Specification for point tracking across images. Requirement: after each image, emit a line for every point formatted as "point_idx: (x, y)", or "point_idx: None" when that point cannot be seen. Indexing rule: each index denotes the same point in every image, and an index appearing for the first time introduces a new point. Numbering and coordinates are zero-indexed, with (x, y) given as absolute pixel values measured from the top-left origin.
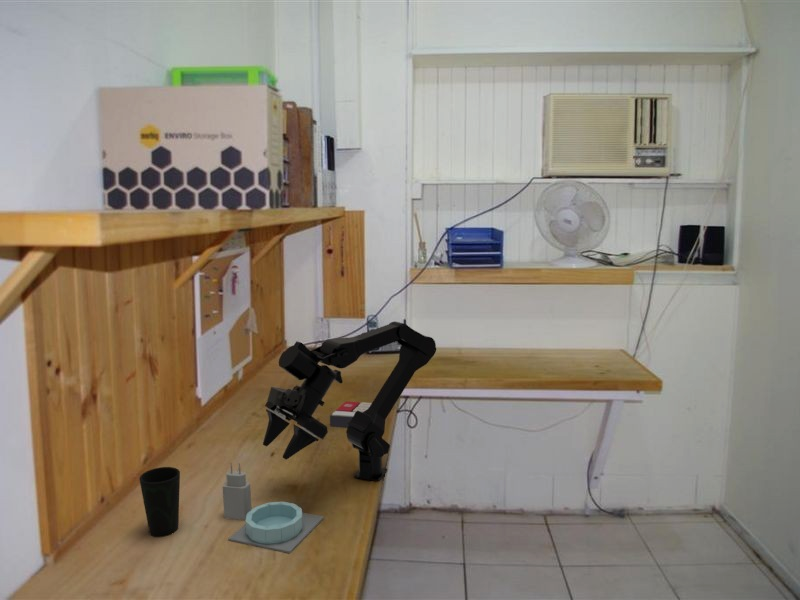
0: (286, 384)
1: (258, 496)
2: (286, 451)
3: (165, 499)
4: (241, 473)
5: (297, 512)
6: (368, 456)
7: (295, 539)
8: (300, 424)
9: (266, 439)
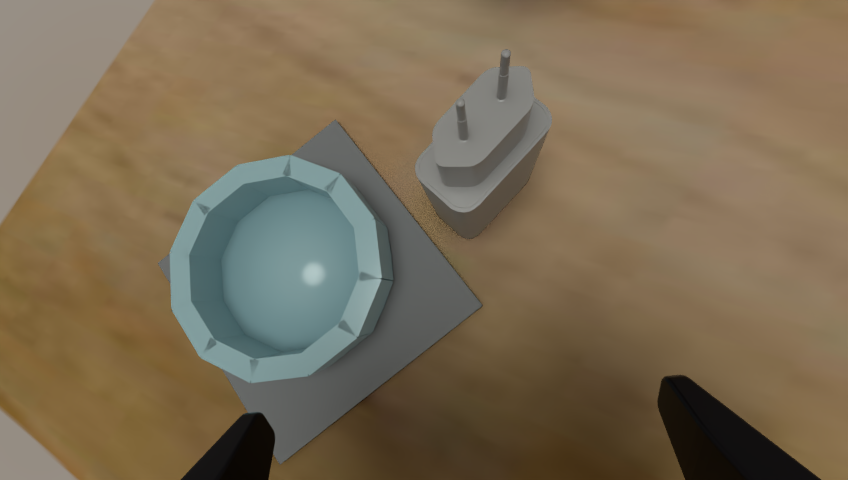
0: None
1: (603, 311)
2: (199, 467)
3: None
4: (463, 147)
5: (236, 354)
6: None
7: None
8: None
9: (698, 432)
